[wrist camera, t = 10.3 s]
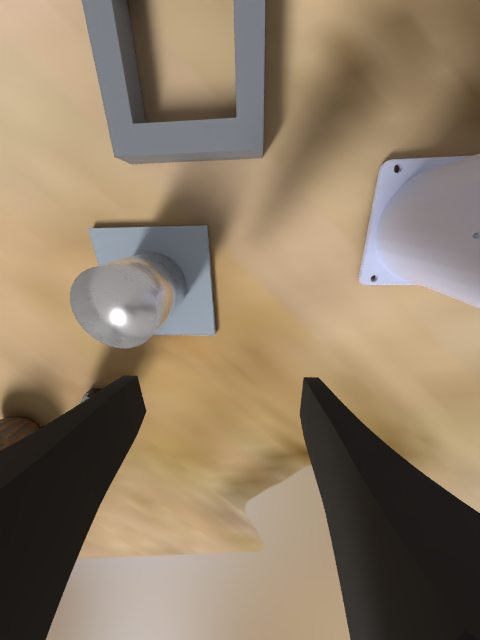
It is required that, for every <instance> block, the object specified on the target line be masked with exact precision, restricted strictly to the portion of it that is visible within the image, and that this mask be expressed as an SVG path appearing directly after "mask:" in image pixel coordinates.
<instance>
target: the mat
mask: <svg viewBox="0 0 480 640" xmlns="http://www.w3.org/2000/svg"><path fill="white" fill-rule="evenodd" d="M88 229H89V233H90V236H91V240H92V244H93V247H94V251H95V254H96V258H97V262H98V265H99V266H100V265H104V264H107V263H111V262H114V261H117V260H121V259H124V258H128V257H131V256H135V255H138V254H142V253H146V252H157V253H161V254H164V255H166V256H168V257H169V258H171V259H172V260H173V261H174V262H176V263H177V265H178V266H179V267H180V268H181V270H182V272H183V274H184V276H185V280H186V294H185V297H184V299H183V301H182V303H181V304H180V305H179V306H178V307H177V308H176V309H175V310H174V312H173V313H172V314H171V315H170V316H169V317H168V318H167V319H166V320H165V321H164V323H163V324H162V325H161V326H160V327H159V328H158V329H157V330H156V331H155V333H154V334H153V335H215V334H216V327H215V314H214V301H213V288H212V276H211V263H210V250H209V237H208V225H197V226H159V227H121V228H88Z"/></svg>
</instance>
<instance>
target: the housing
mask: <svg viewBox="0 0 480 640" xmlns="http://www.w3.org/2000/svg"><path fill="white" fill-rule="evenodd" d="M82 4H83V9H84V13H85V18H86V23H87V28H88V33H89V37H90V42H91V47H92V52H93V57H94V61H95V66H96V71H97V76H98V81H99V85H100V90H101V95H102V100H103V105H104V109H105V114H106V119H107V124H108V129H109V133H110V138H111V143H112V148H113V153H114V157H116V158H119V159H121V160H123V161H125V162H128V163H130V164H143V163H165V162H186V161H207V160H229V159H250V158H262V156H263V128H264V54H265V0H234V32H235V73H236V114H237V118H221V119H205V120H188V121H171V122H155V123H146V119H145V113H144V106H143V100H142V93H141V87H140V80H139V74H138V67H137V61H136V54H135V48H134V41H133V35H132V28H131V22H130V15H129V9H128V2H127V0H82Z"/></svg>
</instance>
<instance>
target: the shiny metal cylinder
mask: <svg viewBox="0 0 480 640" xmlns="http://www.w3.org/2000/svg"><path fill="white" fill-rule="evenodd" d="M185 294H186V280H185V276H184V274H183V272H182V270H181V268H180V267H179V266H178V265H177V263H176V262H174V261H173V260H172V259H171V258H169V257H168V256H166V255H164V254H161V253H157V252H146V253H142V254H138V255H135V256H131V257H128V258H124V259H121V260H117V261H114V262H111V263H107V264H104V265H100V266H97V267H93V268H90V269H87V270H86V271H84V272H82V273H81V274H80V275H79V276H78V277H77V278H76V279H75V281H74V282H73V285H72V287H71V292H70V303H71V307H72V311H73V313H74V315H75V317H76V319H77V321H78V322H79V324H80V325H81V326H82V328H83V329H84V330H85V331H86V332H87V333H88V334H89V335H91V336H92V337H93V338H95V339H96V340H98V341H100V342H101V343H104V344H106V345H109V346H112V347H116V348H133V347H136V346H139V345H141V344H143V343H145V342H146V341H147V340H148V339H149V338H150V337H151V336H152V335H153V334H154V333H155V331H156V330H157V329H158V328H159V327H160V326H161V325H162V324H163V323H164V321H165V320H166V319H167V318H168V317H169V316H170V315H171V314H172V313H173V312H174V310H175V309H176V308H177V307H178V306H179V305H180V304H181V303H182V301H183V299H184V297H185Z"/></svg>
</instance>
